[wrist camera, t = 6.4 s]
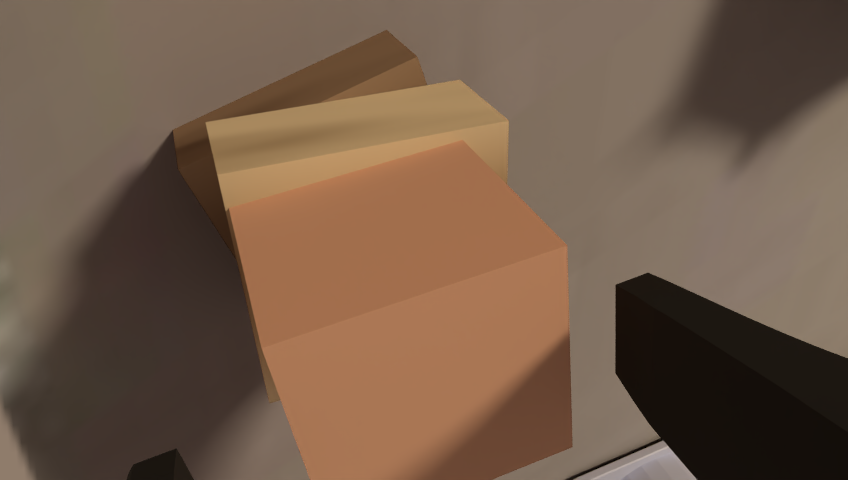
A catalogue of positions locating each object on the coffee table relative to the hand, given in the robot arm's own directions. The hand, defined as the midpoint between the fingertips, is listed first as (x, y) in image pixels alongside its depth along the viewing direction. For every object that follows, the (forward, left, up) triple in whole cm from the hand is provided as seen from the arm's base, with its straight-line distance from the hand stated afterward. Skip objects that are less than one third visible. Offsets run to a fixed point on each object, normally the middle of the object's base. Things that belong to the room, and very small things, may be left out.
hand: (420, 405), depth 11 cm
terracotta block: (0, 0, -4) cm, 4 cm away
